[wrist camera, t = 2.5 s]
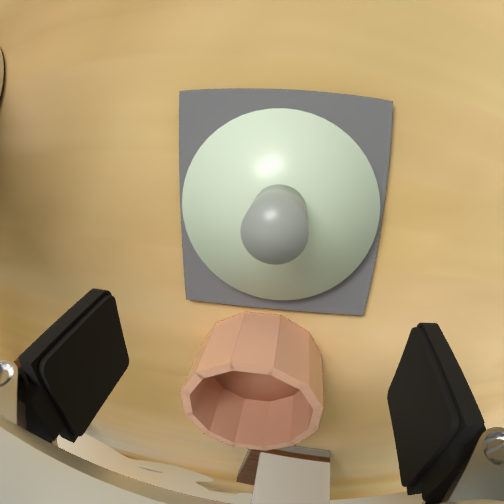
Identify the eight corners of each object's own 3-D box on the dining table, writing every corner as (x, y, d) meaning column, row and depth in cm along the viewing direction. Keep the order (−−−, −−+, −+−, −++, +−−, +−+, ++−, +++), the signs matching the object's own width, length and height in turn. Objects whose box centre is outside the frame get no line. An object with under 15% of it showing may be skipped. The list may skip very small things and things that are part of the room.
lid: (185, 109, 22) (151, 106, 17) (385, 119, 20) (412, 118, 15) (190, 285, 28) (165, 323, 22) (361, 300, 26) (373, 343, 21)
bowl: (199, 306, 29) (173, 353, 23) (328, 318, 28) (333, 371, 21) (206, 392, 34) (189, 438, 28) (310, 404, 32) (309, 454, 26)
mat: (182, 91, 22) (179, 91, 22) (390, 101, 20) (392, 101, 20) (188, 296, 29) (186, 299, 28) (362, 311, 27) (363, 315, 27)
